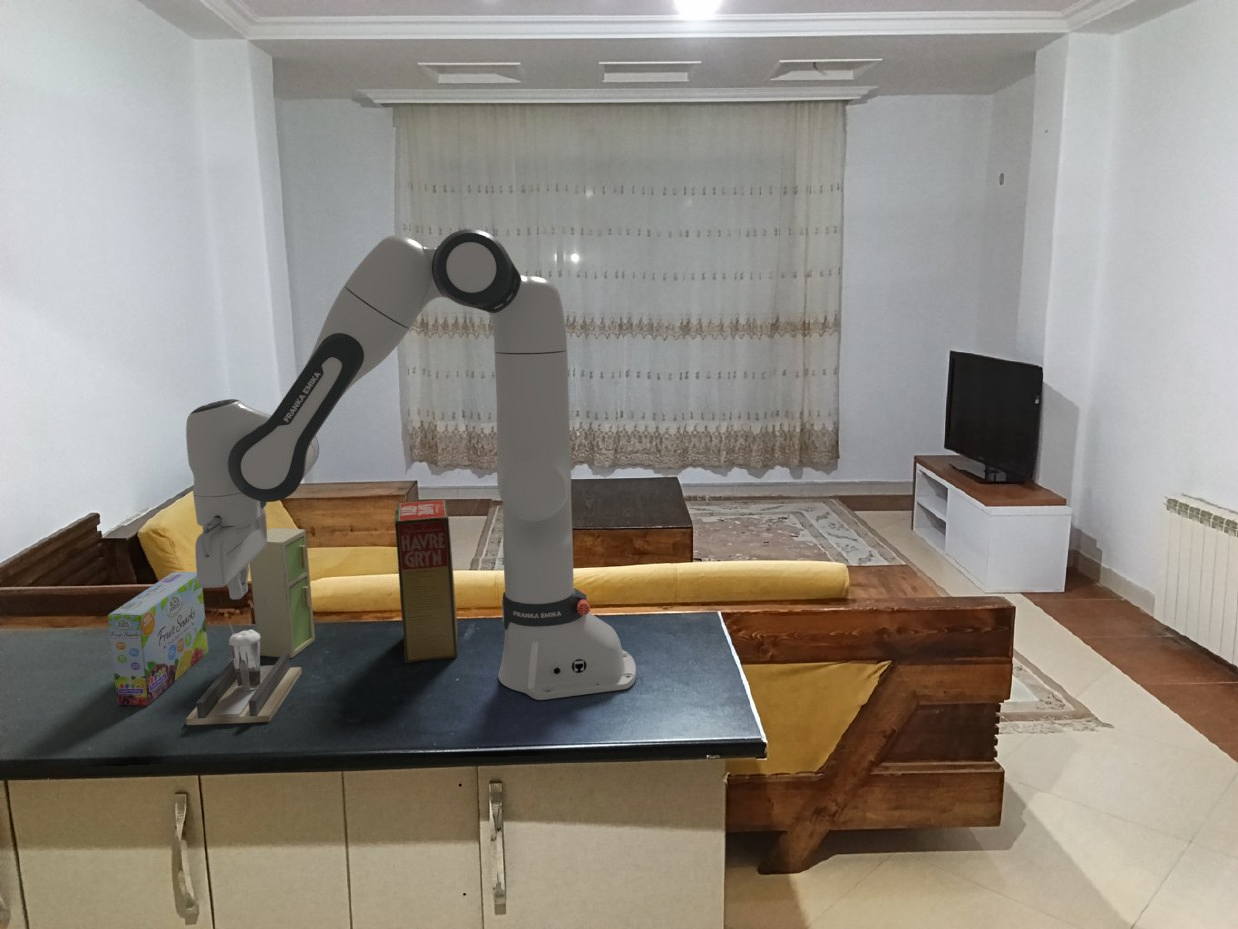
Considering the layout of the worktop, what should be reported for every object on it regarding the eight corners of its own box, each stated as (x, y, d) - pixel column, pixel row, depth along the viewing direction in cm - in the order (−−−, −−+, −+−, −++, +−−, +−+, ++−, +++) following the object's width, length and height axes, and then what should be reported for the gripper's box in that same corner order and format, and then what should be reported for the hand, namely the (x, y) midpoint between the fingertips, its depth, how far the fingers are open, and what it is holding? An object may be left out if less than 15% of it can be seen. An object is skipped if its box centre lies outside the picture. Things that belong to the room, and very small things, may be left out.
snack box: (152, 706, 141) (140, 614, 138) (116, 707, 141) (103, 615, 138) (211, 651, 162) (202, 569, 159) (179, 651, 162) (169, 570, 159)
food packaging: (404, 633, 168) (395, 501, 163) (456, 629, 170) (449, 498, 165) (403, 663, 156) (393, 521, 150) (459, 657, 157) (451, 517, 152)
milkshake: (248, 677, 147) (242, 618, 145) (271, 684, 145) (265, 624, 143) (224, 688, 144) (217, 628, 141) (247, 695, 141) (240, 634, 139)
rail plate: (301, 672, 152) (299, 653, 152) (269, 721, 136) (267, 699, 135) (227, 675, 152) (225, 655, 151) (186, 725, 135) (183, 703, 134)
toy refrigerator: (296, 659, 158) (285, 542, 154) (257, 656, 159) (245, 540, 155) (319, 641, 166) (309, 529, 161) (282, 638, 167) (272, 527, 163)
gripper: (224, 526, 128) (236, 620, 130) (270, 491, 148) (280, 573, 150) (177, 528, 127) (191, 622, 130) (230, 493, 147) (240, 575, 150)
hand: (239, 596), depth 140 cm, fingers closed
